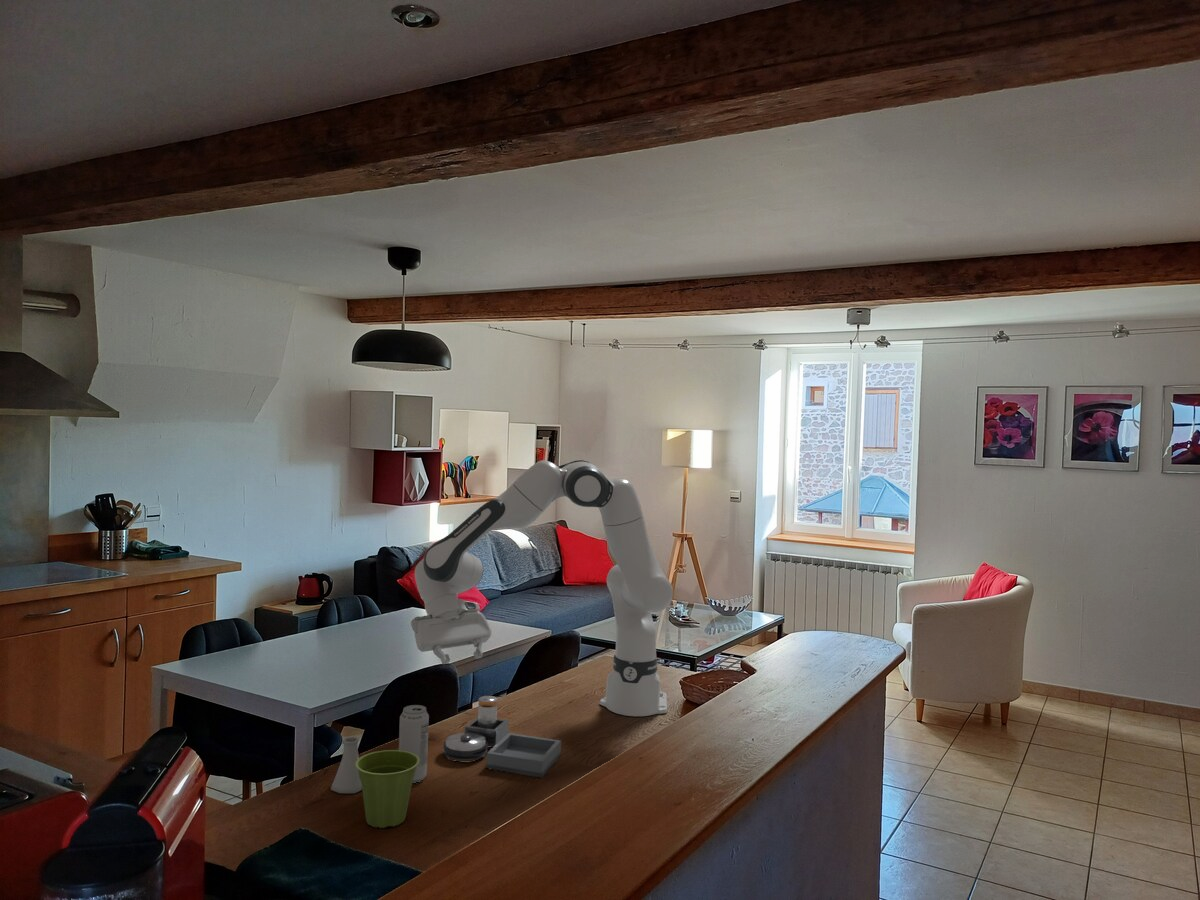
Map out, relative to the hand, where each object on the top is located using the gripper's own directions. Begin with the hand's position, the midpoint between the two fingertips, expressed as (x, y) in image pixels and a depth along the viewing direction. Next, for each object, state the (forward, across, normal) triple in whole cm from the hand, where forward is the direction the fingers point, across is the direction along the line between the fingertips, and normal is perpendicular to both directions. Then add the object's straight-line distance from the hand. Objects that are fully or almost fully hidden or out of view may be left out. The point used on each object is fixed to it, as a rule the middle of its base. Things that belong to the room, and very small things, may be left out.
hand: (463, 659), depth 207 cm
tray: (+32, 0, -8) cm, 33 cm away
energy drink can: (+28, -25, -4) cm, 37 cm away
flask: (+25, -37, -1) cm, 45 cm away
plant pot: (+37, -37, -14) cm, 54 cm away
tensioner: (+22, -5, +1) cm, 23 cm away
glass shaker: (+20, 0, +3) cm, 21 cm away
